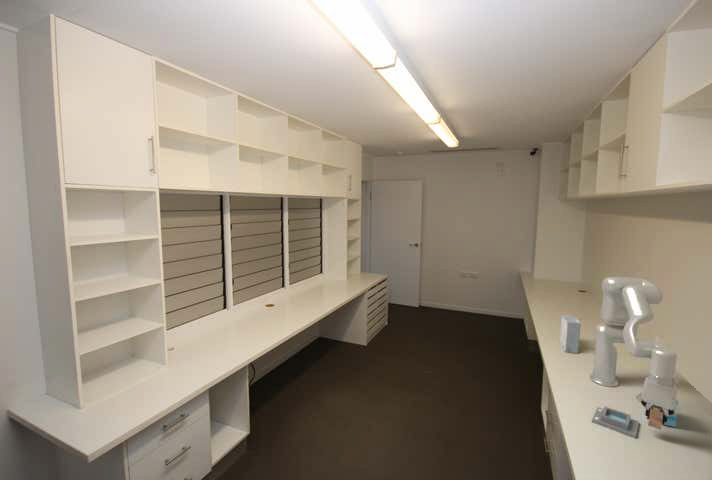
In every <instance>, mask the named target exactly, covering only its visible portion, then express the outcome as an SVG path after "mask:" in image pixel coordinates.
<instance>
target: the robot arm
mask: <svg viewBox="0 0 712 480" xmlns="http://www.w3.org/2000/svg"><path fill="white" fill-rule="evenodd" d="M601 290H602V294H603V295H602V296H603V297H602V304H601V310H600V317H601V320H602V321H603V323H599V324H597V325H595V327H594V335H595V349H594V361H593V370H592V373H590V374H589V380H591V381H592V382H593V383H596V384H597V385H600V386H605V387H610V388H611V387H614V388H615V387H618V386H619V381H618V380H617V378H616V371H617V360H618V350H617V348H616V347H615V345H614V343H615V344H624V345H625V347H626V350H627V352H628V354H629V355H630V356H632V357H634V358H640V359H641V358H642V359H649V360H650V363H649V370H648V371H649V372H648V376H646V378H645V379H644V382H643V387H642V391H641V392H640V393H638V394H637V395H636V396H635V399H636V400H637V401H638V402H639V403H640V404H641V405H642V406H643V407H644V409H645V413H644V416H646V420H648V421H649V415H650V408H651V405H656V406H659V407H662V408H664V413H663V420H662V424H663V425H662V426H665V425H664V422H666V423H667V417H668V416H669V415H672V414H674V413H678V414H680V413H682V409H681V408H680V406H679V404H678V405H677V403H676V400H677V386H676V384H677V385H679V383H680V382H679V381H680V380H677V379H676V378H675V372H676V366H677V365H676V364H677V360H678V359H677V358H678V356H677V355H678V354H677V352H676V351H674V350H673V349H671V348H670V347H669V346H668V344H666V342H664V341H661V340H651V339H641V338H637V333H638V329H639V325H641V324H642V325H643V324H646V323H649V322H651V321H653V319H654V312H653V311H652V310H653V309H652V307H651V305H659V304H661V303H662V301H663V300H664V299H663V297H664V296H663V293H662V292H663V291H662V290H661V289H660V288H659V287H658V286H657V285H655V284H654V283H652V282H650V281H649V280H647V279H645V278H641V277H624V276H608V277H605V278H604V279H603V280H602V283H601ZM624 303H625V305H624ZM674 408H675V409H674Z"/></svg>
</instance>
